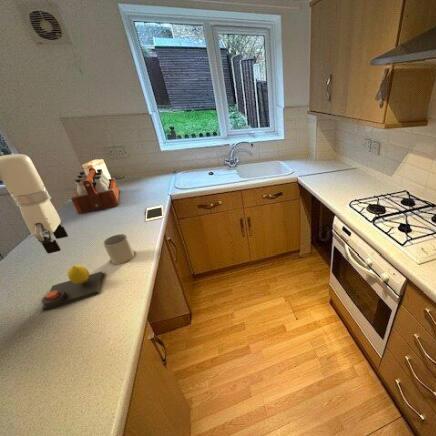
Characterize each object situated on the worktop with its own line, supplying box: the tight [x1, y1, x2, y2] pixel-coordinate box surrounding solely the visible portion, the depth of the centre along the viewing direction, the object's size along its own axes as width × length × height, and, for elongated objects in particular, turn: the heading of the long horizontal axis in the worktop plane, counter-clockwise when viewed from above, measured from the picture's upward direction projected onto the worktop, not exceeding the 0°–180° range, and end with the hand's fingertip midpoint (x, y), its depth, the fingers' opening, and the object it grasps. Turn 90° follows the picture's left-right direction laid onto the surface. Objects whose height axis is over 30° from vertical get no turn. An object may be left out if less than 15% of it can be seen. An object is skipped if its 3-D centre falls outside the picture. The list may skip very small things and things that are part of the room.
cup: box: [102, 233, 135, 265], centre depth 101 cm, size 8×8×10 cm
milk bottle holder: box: [70, 168, 120, 214], centre depth 155 cm, size 21×35×19 cm, turn 32°
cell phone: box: [145, 205, 164, 222], centre depth 141 cm, size 9×18×1 cm, turn 26°
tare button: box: [45, 290, 60, 300], centre depth 81 cm, size 3×3×2 cm
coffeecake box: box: [81, 158, 112, 182], centre depth 182 cm, size 15×7×20 cm, turn 6°
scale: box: [40, 271, 104, 312], centre depth 86 cm, size 15×12×4 cm
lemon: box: [67, 264, 90, 284], centre depth 86 cm, size 6×6×8 cm
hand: (58, 244), depth 80 cm, fingers open, 9 cm apart
